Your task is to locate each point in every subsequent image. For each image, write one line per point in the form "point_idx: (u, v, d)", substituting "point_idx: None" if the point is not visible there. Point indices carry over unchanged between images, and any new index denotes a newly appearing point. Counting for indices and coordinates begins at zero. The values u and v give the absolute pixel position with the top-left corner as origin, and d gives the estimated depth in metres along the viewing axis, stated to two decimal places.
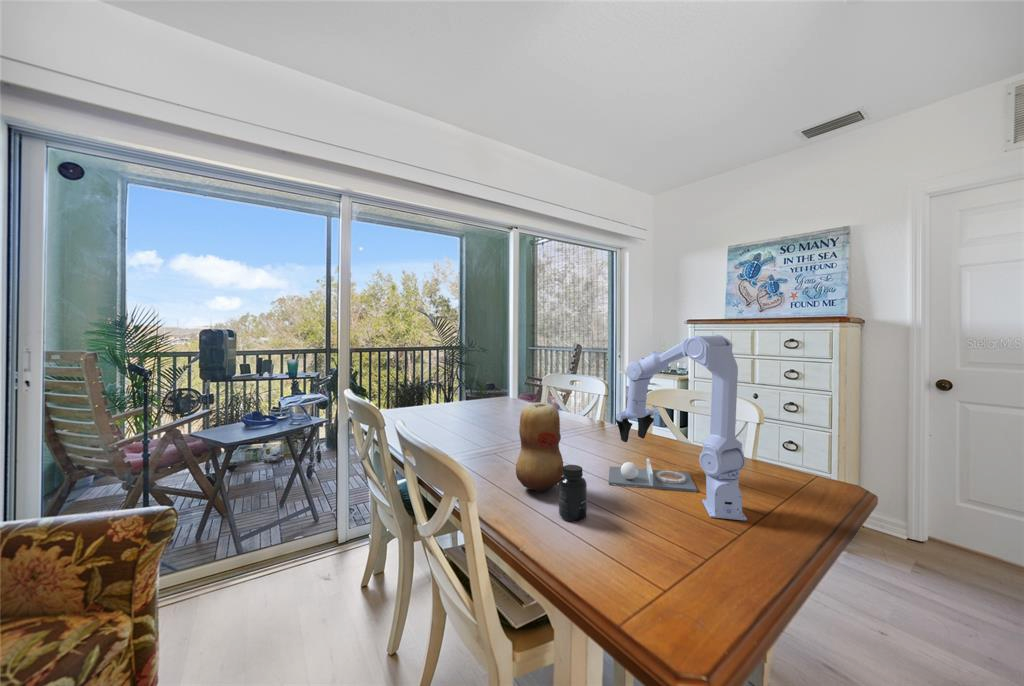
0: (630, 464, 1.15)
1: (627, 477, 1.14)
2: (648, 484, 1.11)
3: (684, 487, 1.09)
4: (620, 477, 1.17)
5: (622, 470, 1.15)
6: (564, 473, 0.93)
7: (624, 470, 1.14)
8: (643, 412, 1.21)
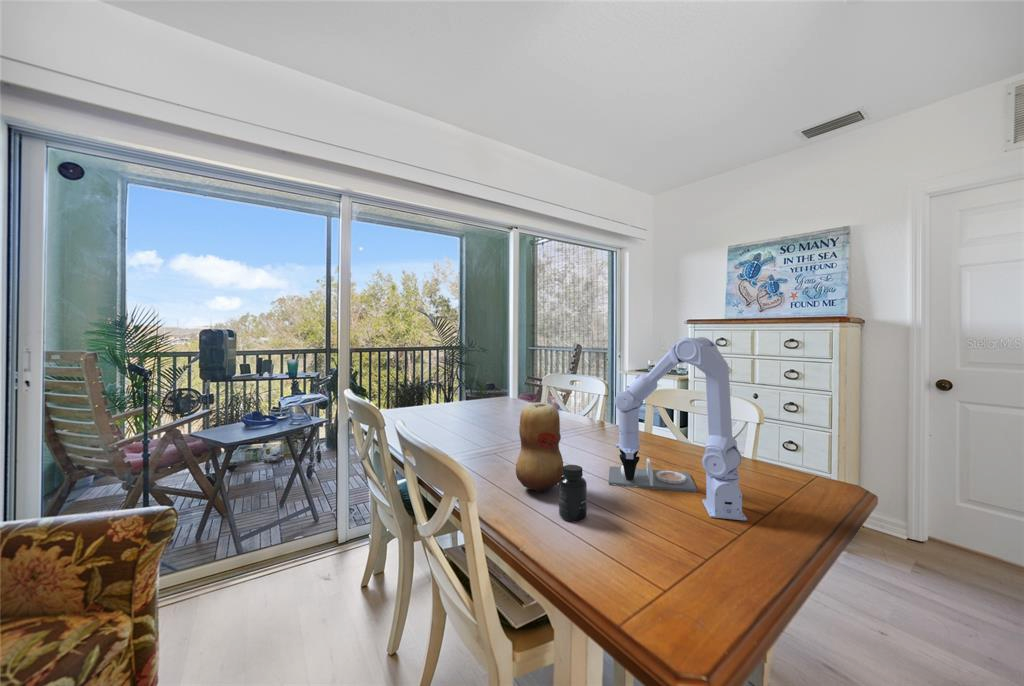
0: None
1: None
2: (648, 484, 1.11)
3: (684, 487, 1.09)
4: (620, 477, 1.17)
5: (622, 470, 1.15)
6: (564, 473, 0.93)
7: None
8: None
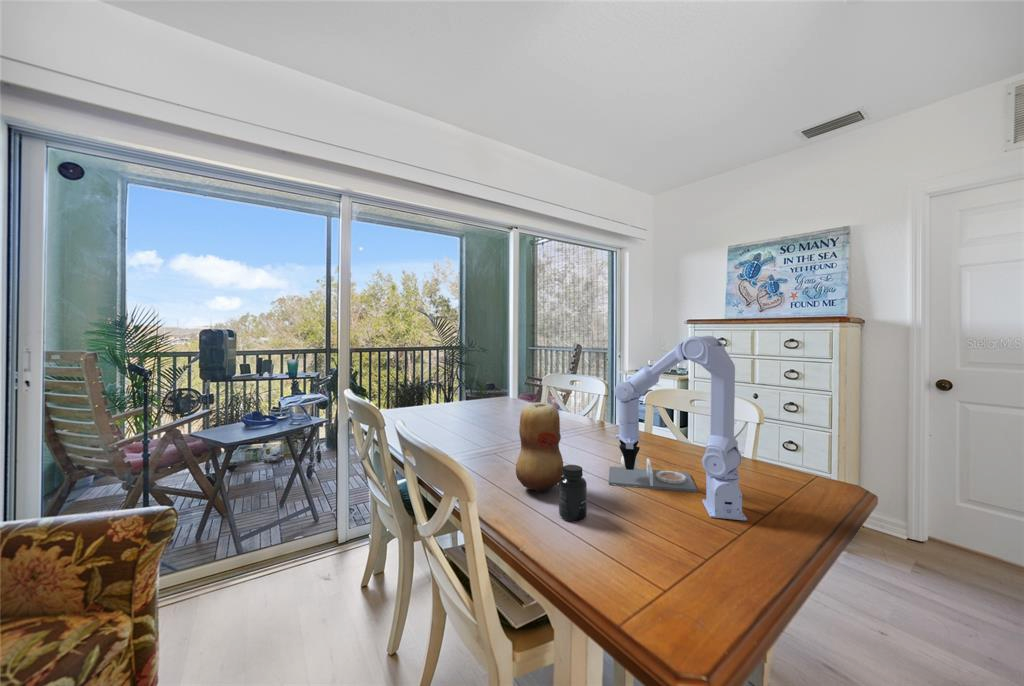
0: None
1: None
2: (648, 484, 1.11)
3: (684, 487, 1.09)
4: (620, 477, 1.17)
5: (622, 461, 1.15)
6: (564, 473, 0.93)
7: None
8: None
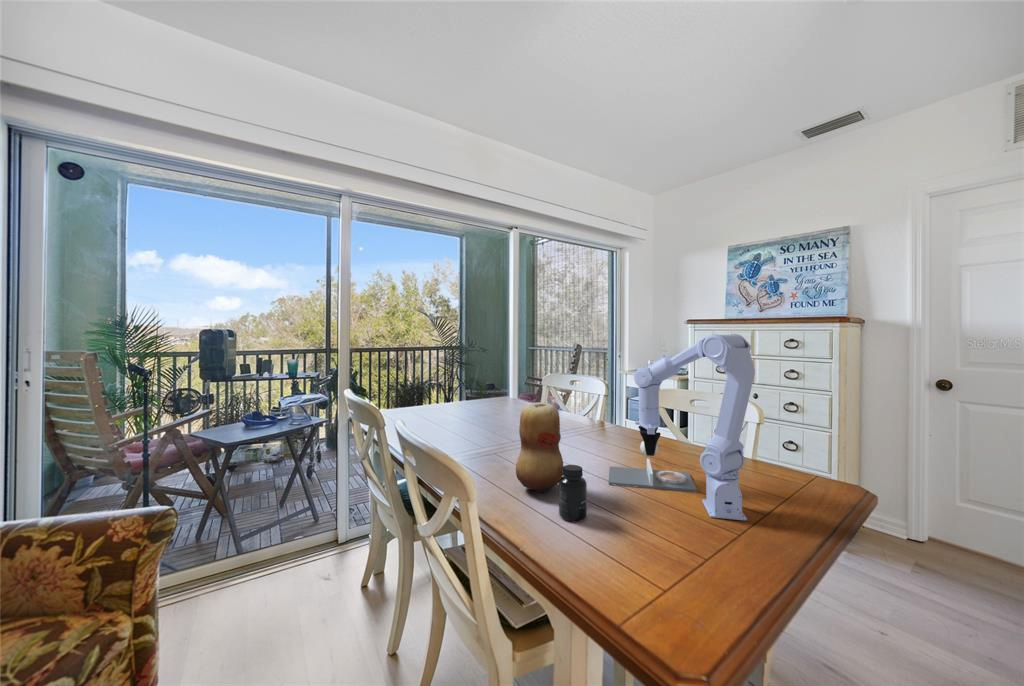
0: None
1: None
2: (648, 484, 1.11)
3: (684, 487, 1.09)
4: (620, 477, 1.17)
5: (642, 447, 1.15)
6: (564, 473, 0.93)
7: (644, 447, 1.14)
8: None
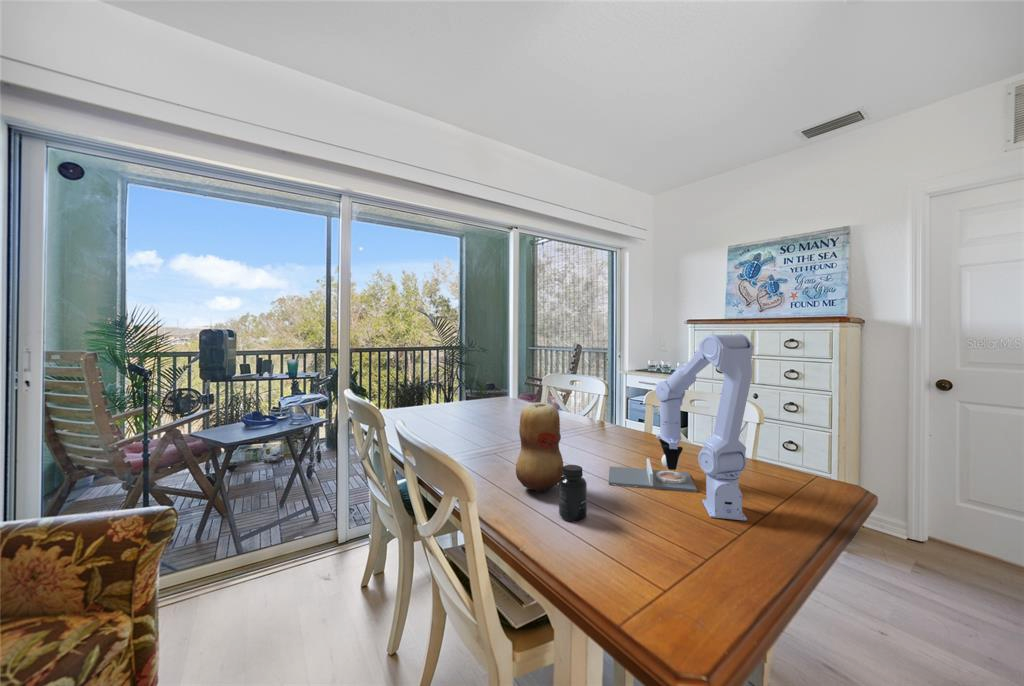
0: None
1: None
2: (648, 484, 1.11)
3: (684, 487, 1.09)
4: (620, 477, 1.17)
5: (663, 461, 1.15)
6: (564, 473, 0.93)
7: None
8: None
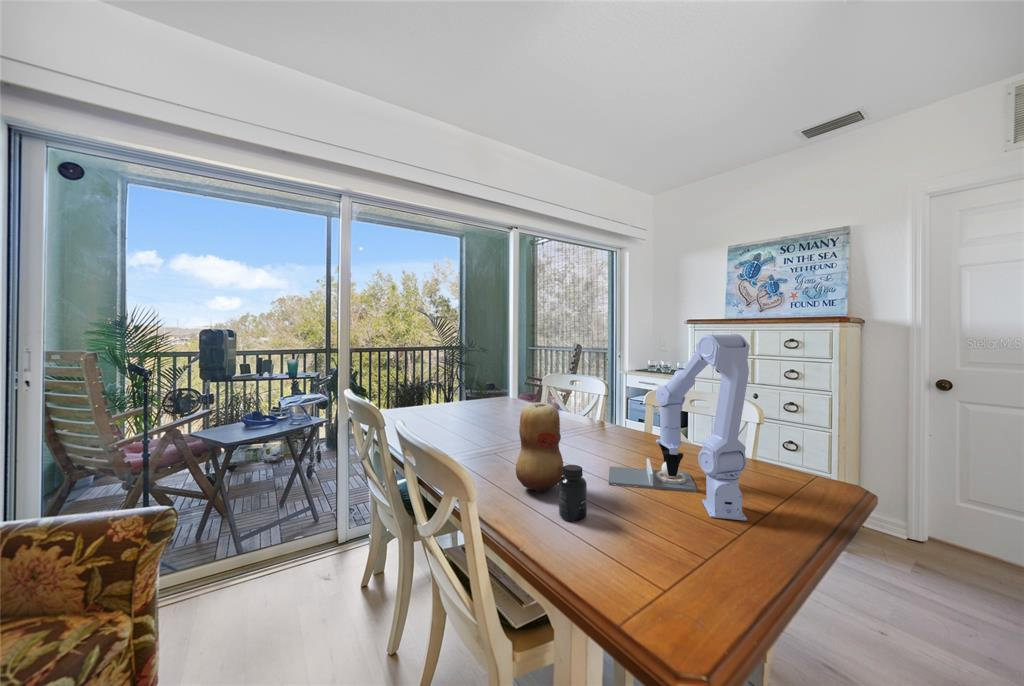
0: None
1: None
2: (648, 484, 1.11)
3: (684, 487, 1.09)
4: (620, 477, 1.17)
5: (663, 468, 1.15)
6: (564, 473, 0.93)
7: (666, 468, 1.14)
8: None
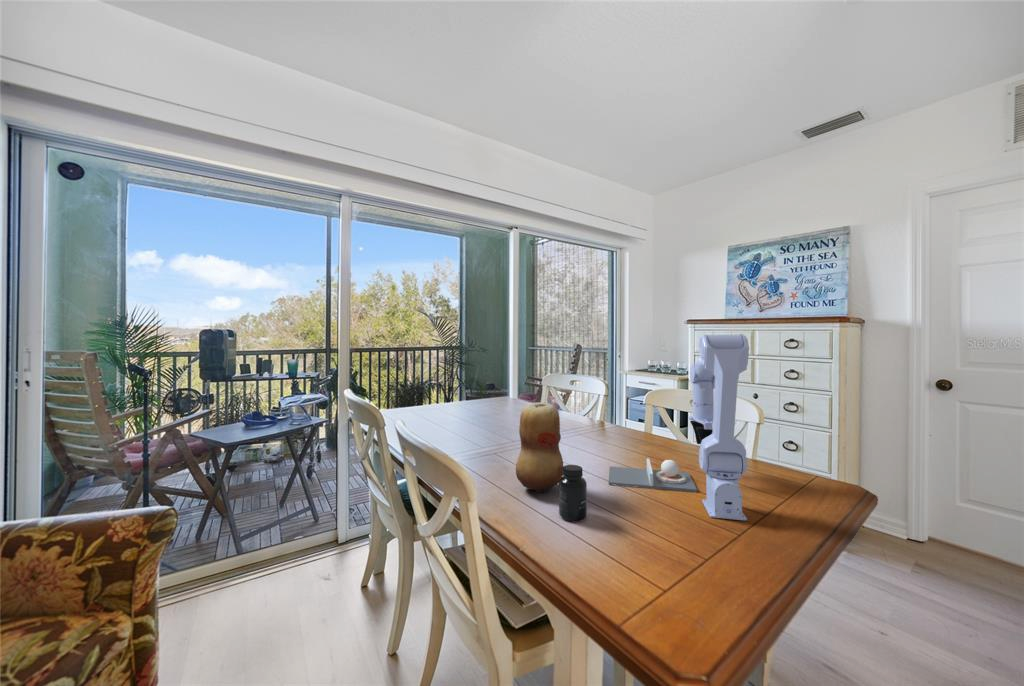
0: (670, 460, 1.17)
1: (668, 471, 1.15)
2: (648, 484, 1.11)
3: (684, 487, 1.09)
4: (620, 477, 1.17)
5: (663, 465, 1.16)
6: (564, 473, 0.93)
7: (665, 464, 1.16)
8: None
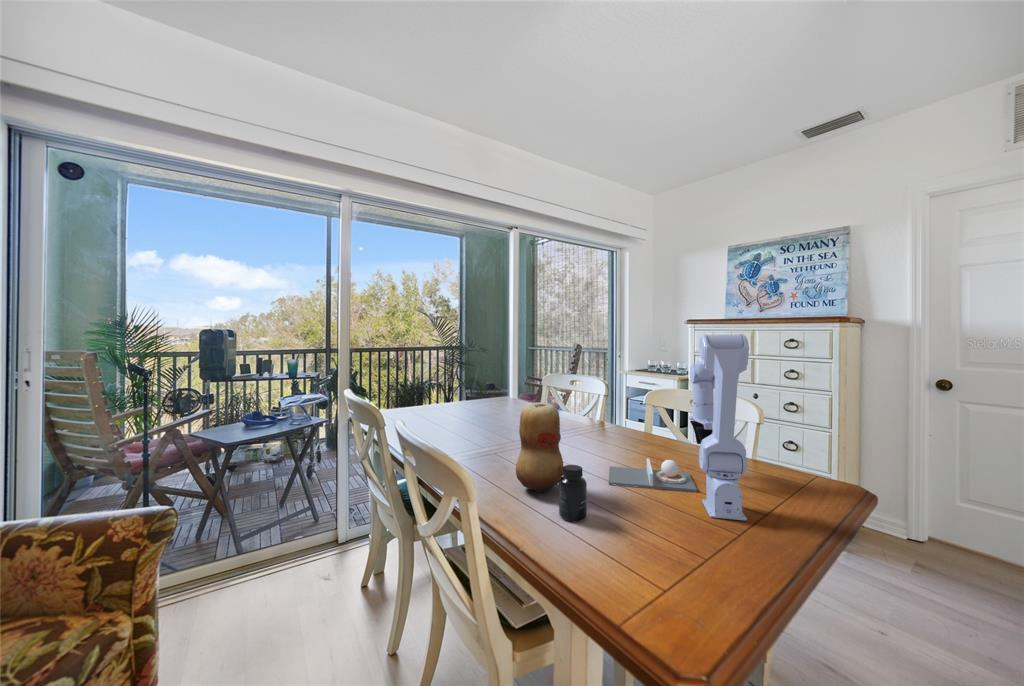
0: (670, 460, 1.17)
1: (669, 471, 1.14)
2: (648, 484, 1.11)
3: (684, 487, 1.09)
4: (620, 477, 1.17)
5: (663, 465, 1.16)
6: (564, 473, 0.93)
7: (665, 464, 1.15)
8: None
